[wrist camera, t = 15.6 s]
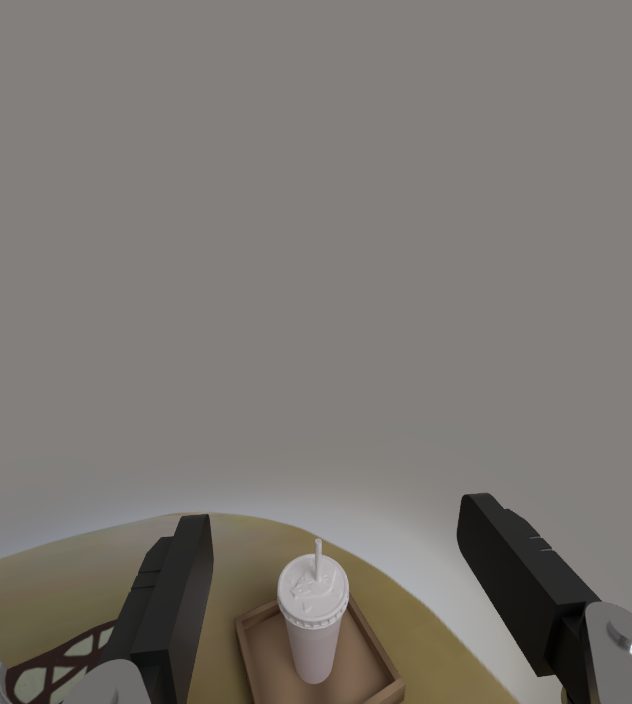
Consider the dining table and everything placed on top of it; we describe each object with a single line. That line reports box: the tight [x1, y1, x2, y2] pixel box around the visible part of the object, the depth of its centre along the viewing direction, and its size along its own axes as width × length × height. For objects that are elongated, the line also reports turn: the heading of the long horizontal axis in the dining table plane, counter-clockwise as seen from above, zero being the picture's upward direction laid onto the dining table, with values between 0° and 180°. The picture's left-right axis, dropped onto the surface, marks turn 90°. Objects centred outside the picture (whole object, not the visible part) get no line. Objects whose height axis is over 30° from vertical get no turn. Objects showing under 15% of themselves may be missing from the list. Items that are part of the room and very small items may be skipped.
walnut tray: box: [234, 592, 405, 704], centre depth 32 cm, size 12×12×2 cm
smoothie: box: [277, 539, 349, 684], centre depth 30 cm, size 6×6×14 cm
